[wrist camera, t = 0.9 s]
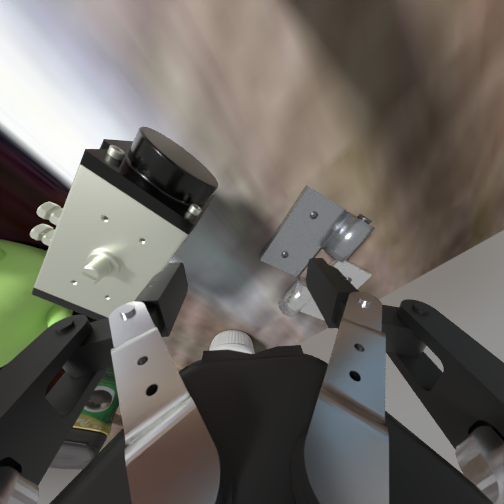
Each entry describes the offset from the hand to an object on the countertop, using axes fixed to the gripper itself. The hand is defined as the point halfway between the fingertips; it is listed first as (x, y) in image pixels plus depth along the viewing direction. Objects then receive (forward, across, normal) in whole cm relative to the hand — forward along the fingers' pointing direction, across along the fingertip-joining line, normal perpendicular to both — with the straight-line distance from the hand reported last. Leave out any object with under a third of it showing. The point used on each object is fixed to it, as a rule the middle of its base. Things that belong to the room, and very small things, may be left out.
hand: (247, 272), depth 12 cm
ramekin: (+21, +4, +33) cm, 39 cm away
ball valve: (+19, +11, -1) cm, 22 cm away
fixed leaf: (+19, -12, +5) cm, 23 cm away
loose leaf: (+19, -15, +16) cm, 29 cm away
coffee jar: (+22, +30, +35) cm, 51 cm away
